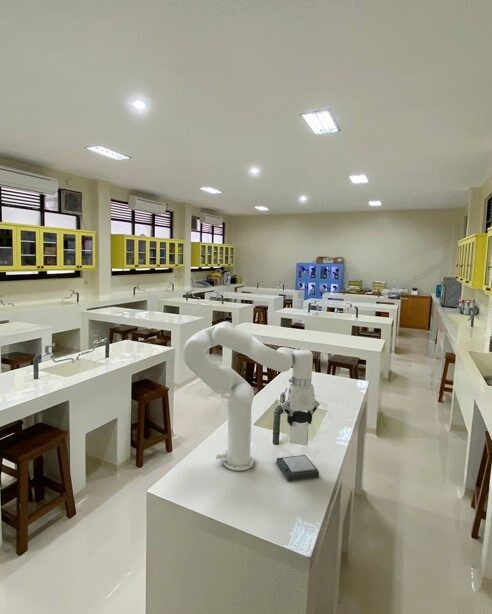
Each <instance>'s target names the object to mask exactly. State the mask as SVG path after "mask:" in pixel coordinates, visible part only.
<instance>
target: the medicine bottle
mask: <svg viewBox="0 0 492 614" xmlns="http://www.w3.org/2000/svg"><path fill="white" fill-rule="evenodd" d="M292 416H293V425H292V426H290V425H289V441H288V443H289V444H293V445H300V446H308V442H309V423H308V422H307V418H308V414H307V411H305V410H304V411H294V412H293V414H292Z"/></svg>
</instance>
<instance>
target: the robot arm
mask: <svg viewBox="0 0 492 614" xmlns="http://www.w3.org/2000/svg"><path fill="white" fill-rule="evenodd" d="M216 346H222V347H223V348H226V349H229V350H232V351H234V352H237V353H239V354H242V355H244V356H246V357H248V358H249V359H251V360H253V361H254V362H256V363H257V364H260V365H261V366H264V367H265V368H268V369H270V370H273V371H276V372H280V373H286V372H288V371H289V370H291V368H292V375H291V378H288V382H289V383H290V385H289V388H288V392H287V399H286V400H285V401H283V402H282V404H281V405H280V408H281V409H282V410H283V412H285V414H287V416H286V419H287V420H286V422H287V423H288V425H289V427H290V426H292V425H293V416H292V414H293V412H294V411H304V412H305V411H306V413H307V414H308V418H307V422H308V425H311V424H312V421H313V415H314V414H315V412H316V411H317V409H318V408H319V406H320V405H321V403H319V402H318V401H317V400H316V399H315V397H316V396H315V387H314V384H312V379H313V362H314V361H313V360H314V353H313V352H312V351H311V350H309V349H300V348H299V349H295V348H291V347H287V346H281V347H279V348H277V349H273V348H271V347H269V346H267V345H265V344H264V343H263V342H261V341H260V339H258V337H256V335H254V334H252V333H248V332H247V331H244V330H241V329H238V328H236V326H235V325H234V324H233V323H232V322H230V321H227V320H225V321H221V322H219V323H216V324H214V325H212V326H209V327H207V328H204V329H201V330H199V331H197V332H196V333H194V334H193V335H191V336H190V337H189V338H188V339H187V340H186V342H185V343H184V346H183V349H182V358H183V361H184V363H185V365H186V366H187V368H188V369H189V370H190V371H191V372H192V373H194V374H195V375H196V376H197V377H198V378H199V379H200V380H201V381H202V382H203V383H204V384H205V385H206V386H207V387H209V389H210V390H212V392H213V393H214V394H216V395H219V396H224V395H227V394H228V395H229V397H228V400H227V449H226V450H225V452H223V453H218V454H215V459H216V460H219V462H223V465H224V466H225V467H226V468H227V469H229V470H231V471H237V472H241V471H246V470H249V469H251V468H252V467H253V466H254V463H255V461H254V458H253V457H252V456H251V440H252V439H251V437H252V436H251V435H252V406H253V401H254V398H255V390H254V388H253V387H252V386H251V384H250V383H248V381H247V380H246V379H245V378H244V377H242V376H241V375H240V374H239V373H238V372H237V371H236V370H235V369H233V368H232V367H230V366H226V365H222V366H219V365H217V364H216V363H215V362H214V361H213V360H212V359H211V358H208V357H207V356H206V355H205V353H206V352H207V351H208V350H210V349H211V348H214V347H216ZM287 407H288V408H287Z"/></svg>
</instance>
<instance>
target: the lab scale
mask: <svg viewBox="0 0 492 614" xmlns="http://www.w3.org/2000/svg"><path fill="white" fill-rule="evenodd" d="M275 464H276V465H277V467H278V468H279V470H280V472H281V473H282V475H283V476H284V478H285V479H286V481H287V482H293V481H294V482H295V481H302V480H310V479H319V476H320V471H319V470H318V468H317V467H316V466H315V465H314V464H313V463H312V461H311V460H310V459H309V458H308V456H307V455H306V454H301V455H300V454H299V455H290V456H283V457H282V456H281V457H276V461H275Z"/></svg>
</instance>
